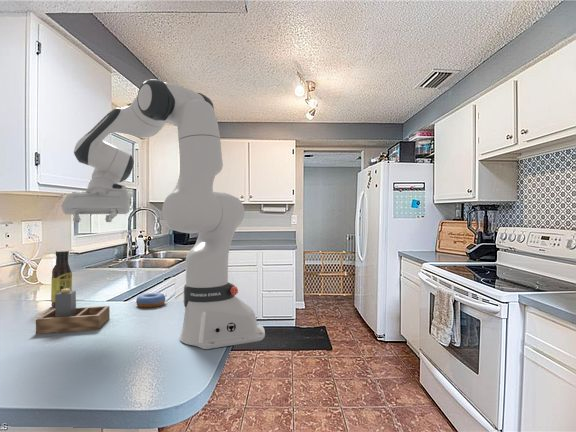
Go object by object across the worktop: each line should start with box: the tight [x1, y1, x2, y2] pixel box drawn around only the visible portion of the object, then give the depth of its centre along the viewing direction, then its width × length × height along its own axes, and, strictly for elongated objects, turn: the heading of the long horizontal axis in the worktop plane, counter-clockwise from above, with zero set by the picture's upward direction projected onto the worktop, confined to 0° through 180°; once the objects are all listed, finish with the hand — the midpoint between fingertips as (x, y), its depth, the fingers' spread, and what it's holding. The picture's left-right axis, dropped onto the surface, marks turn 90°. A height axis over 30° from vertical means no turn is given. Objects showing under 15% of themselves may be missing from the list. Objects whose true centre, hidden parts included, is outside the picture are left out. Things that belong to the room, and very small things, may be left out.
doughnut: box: [135, 292, 166, 309], centre depth 128 cm, size 10×10×5 cm
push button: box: [54, 288, 77, 317], centre depth 104 cm, size 4×4×10 cm
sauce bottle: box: [50, 250, 73, 308], centre depth 128 cm, size 7×6×20 cm
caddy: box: [35, 305, 111, 335], centre depth 105 cm, size 16×11×4 cm
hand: (92, 221), depth 113 cm, fingers open, 8 cm apart
